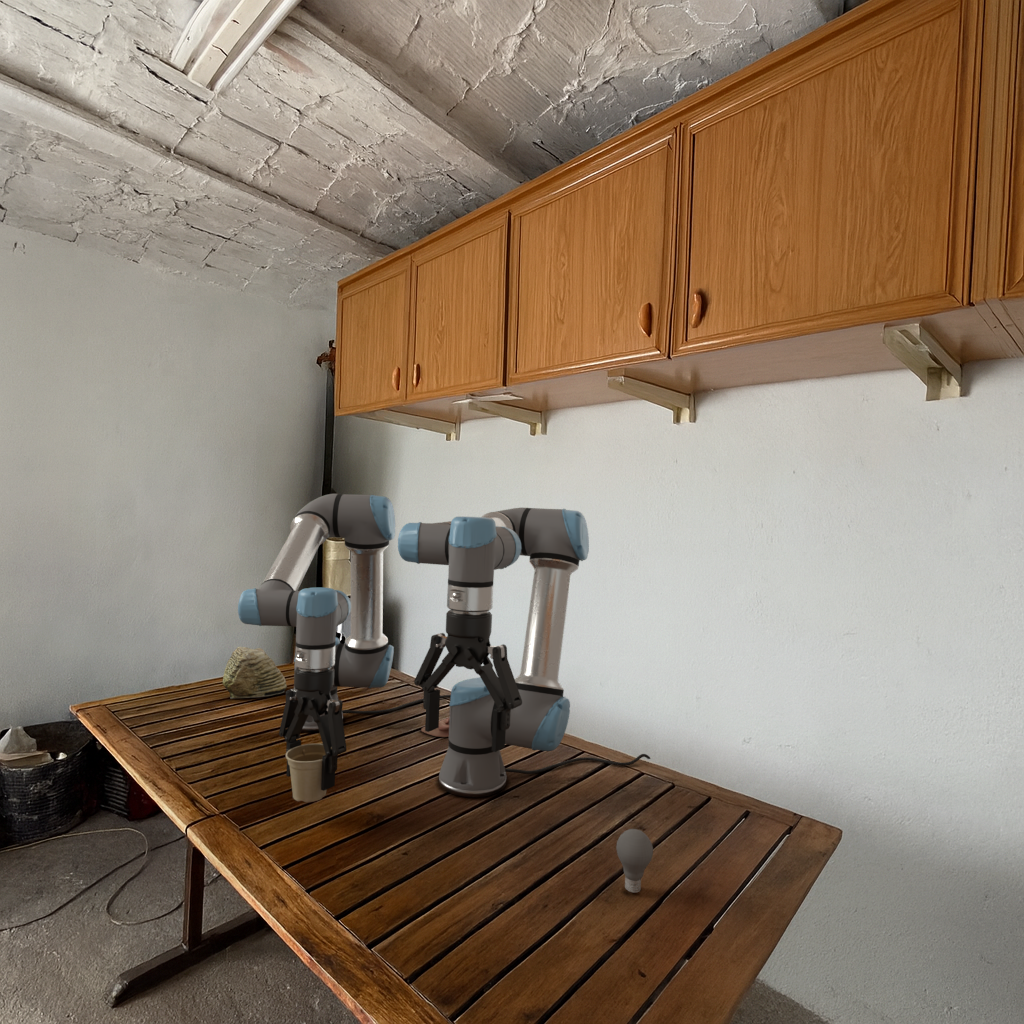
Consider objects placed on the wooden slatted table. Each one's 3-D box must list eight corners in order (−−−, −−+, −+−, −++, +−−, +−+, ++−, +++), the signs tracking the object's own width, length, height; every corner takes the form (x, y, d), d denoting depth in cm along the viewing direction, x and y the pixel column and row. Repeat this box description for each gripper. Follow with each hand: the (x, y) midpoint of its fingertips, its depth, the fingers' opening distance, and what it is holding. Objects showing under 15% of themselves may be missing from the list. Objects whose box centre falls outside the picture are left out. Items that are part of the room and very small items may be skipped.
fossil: (218, 695, 195) (220, 647, 195) (278, 685, 208) (279, 640, 207) (228, 703, 189) (230, 653, 188) (289, 692, 201) (290, 645, 201)
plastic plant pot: (273, 797, 123) (275, 753, 123) (312, 781, 131) (313, 739, 131) (305, 812, 118) (307, 765, 118) (344, 793, 126) (345, 750, 126)
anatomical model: (417, 719, 171) (431, 706, 182) (417, 734, 171) (430, 720, 182) (465, 725, 168) (476, 711, 179) (464, 740, 168) (475, 725, 179)
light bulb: (610, 879, 108) (613, 822, 108) (644, 879, 109) (647, 822, 109) (619, 902, 102) (622, 840, 102) (655, 901, 103) (658, 840, 103)
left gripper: (262, 661, 127) (258, 772, 127) (339, 681, 115) (334, 804, 116) (293, 654, 134) (289, 760, 134) (369, 673, 122) (364, 789, 122)
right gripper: (396, 603, 107) (391, 727, 108) (522, 624, 94) (516, 765, 95) (425, 598, 114) (420, 716, 114) (546, 617, 101) (540, 750, 101)
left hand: (310, 780), depth 125 cm, fingers closed on plastic plant pot, 9 cm apart
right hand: (463, 738), depth 104 cm, fingers open, 13 cm apart
